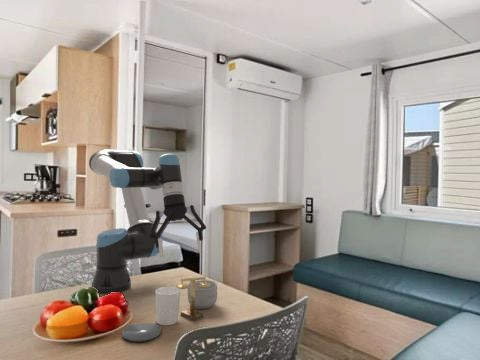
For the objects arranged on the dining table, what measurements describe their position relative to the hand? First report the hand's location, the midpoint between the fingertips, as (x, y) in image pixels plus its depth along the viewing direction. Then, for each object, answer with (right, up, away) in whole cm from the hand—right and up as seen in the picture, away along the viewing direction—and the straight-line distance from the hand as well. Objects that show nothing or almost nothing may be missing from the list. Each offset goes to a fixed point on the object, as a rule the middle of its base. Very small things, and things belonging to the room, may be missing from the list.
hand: (181, 253), depth 128 cm
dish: (-8, -19, -21) cm, 30 cm away
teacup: (+8, -19, +3) cm, 21 cm away
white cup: (-3, -20, -12) cm, 23 cm away
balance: (+5, -19, -8) cm, 21 cm away
